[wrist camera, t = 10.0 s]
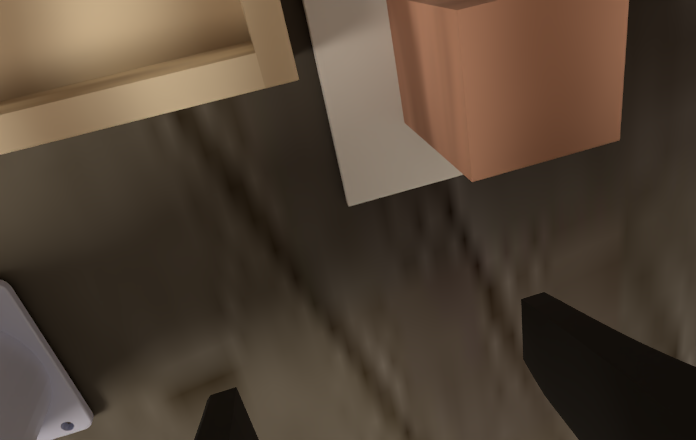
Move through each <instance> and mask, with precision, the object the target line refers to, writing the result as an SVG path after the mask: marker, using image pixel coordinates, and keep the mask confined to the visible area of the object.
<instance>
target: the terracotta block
mask: <svg viewBox="0 0 696 440" xmlns="http://www.w3.org/2000/svg"><path fill="white" fill-rule="evenodd" d="M386 3H387V10H388V16H389V23H390V30H391V36H392V43H393V50H394V56H395V63H396V70H397V76H398V83H399V90H400V96H401V103H402V110H403V117H404V123H405V124H406V125H408V126H409V127H410V128H411V129H412V130H413V131H414V132H416V133H417V134H418V135H419V136H420V137H421V138H422V139H424V140H425V141H426V142H427V143H428V144H429V145H430V146H432V147H433V148H434V149H435V150H436V151H437V152H438V153H439V154H441V155H442V156H443V157H444V158H445V159H446V160H447V161H449V162H450V163H451V164H452V165H453V166H454V167H455V168H457V169H458V170H459V171H460V172H461V173H462V174H463V175H465V176H466V177H467V178H468V179H469V180H470V181H471V182H474V181H478V180H481V179H485V178H488V177H492V176H495V175H499V174H502V173H506V172H509V171H513V170H517V169H520V168H524V167H527V166H531V165H534V164H538V163H541V162H545V161H548V160H552V159H555V158H559V157H562V156H566V155H569V154H573V153H576V152H580V151H583V150H587V149H590V148H594V147H597V146H601V145H604V144H608V143H611V142H615V141H618V140H620V128H621V113H622V98H623V83H624V69H625V54H626V39H627V24H628V9H629V0H386Z"/></svg>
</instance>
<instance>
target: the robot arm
mask: <svg viewBox="0 0 696 440" xmlns="http://www.w3.org/2000/svg"><path fill="white" fill-rule="evenodd" d="M521 305H522V333H523V360H524V361H525V363H526V365H527V366H528V368H529V370H530V372H531V373H532V375H533V377H534V379H535V380H536V382H537V383H538V385H539V387H540V388H541V390H542V392H543V393H544V395H545V396H546V398H547V399H548V400H549V402H550V403H551V404H552V406H553V407H554V408H555V409H556V411H557V412H558V413H559V415H560V416H561V417H562V419H563V420H564V421H565V422H566V424H567V425H568V426H569V428H570V429H571V430H572V431H573V433H574V434H575V435H576V437H577V438H578V439H579V440H696V367H694V366H692V365H690V364H687V363H685V362H682V361H680V360H678V359H675V358H673V357H671V356H669V355H666V354H664V353H662V352H660V351H658V350H655V349H653V348H651V347H649V346H647V345H644V344H642V343H640V342H638V341H636V340H634V339H632V338H630V337H628V336H626V335H624V334H622V333H620V332H618V331H616V330H614V329H612V328H610V327H608V326H606V325H604V324H603V323H601V322H599V321H597V320H595V319H593V318H591V317H589V316H587V315H586V314H584V313H582V312H580V311H578V310H576V309H575V308H573V307H571V306H569V305H567V304H565V303H563V302H562V301H560V300H558V299H556V298H554V297H552V296H550V295H548V294H547V293H545V292H543V293H540V294H537V295H533V296H530V297H527V298H524V299H521ZM93 417H94V416H93V413H92V411H91V410H90V408H89V406H88V405H87V403H86V402H85V400H84V399H83V397H82V396H81V394H80V392H79V391H78V389H77V388H76V386H75V385H74V383H73V382H72V380H71V378H70V377H69V375H68V374H67V372H66V371H65V369H64V368H63V366H62V364H61V363H60V361H59V360H58V358H57V357H56V355H55V354H54V352H53V350H52V349H51V347H50V346H49V344H48V343H47V341H46V340H45V338H44V336H43V335H42V333H41V332H40V330H39V329H38V327H37V326H36V324H35V322H34V321H33V319H32V318H31V316H30V315H29V313H28V312H27V310H26V308H25V307H24V305H23V304H22V302H21V301H20V299H19V298H18V296H17V294H16V293H15V291H14V290H13V288H12V287H11V286H10V285H9V283H7V282H5V281H3V280H0V440H52V439H55V438H59V437H62V436H65V435H68V434H72V433H75V432H78V431H81V430H85V429H87V428H89V427H90V426H91V424H92V421H93ZM66 422H71V423H70V424H69V423H66ZM194 440H259V439H258V437H257V435H256V432H255V430H254V428H253V425H252V423H251V421H250V418H249V416H248V414H247V411H246V409H245V407H244V404H243V402H242V400H241V397H240V395H239V392H238V390H237V388H236V387H235V388H232V389H229V390H226V391H222V392H219V393H216V394H213V395H210V397H209V399H208V400H207V403H206V406H205V410H204V413H203V416H202V419H201V422H200V425H199V428H198V430H197V433H196V436H195V439H194Z"/></svg>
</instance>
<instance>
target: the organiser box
mask: <svg viewBox="0 0 696 440" xmlns="http://www.w3.org/2000/svg"><path fill="white" fill-rule="evenodd" d="M297 80H299V77H298V73H297V69H296V65H295V61H294V56H293V52H292V48H291V44H290V40H289V36H288V31H287V27H286V23H285V19H284V15H283V11H282V6H281V2H280V0H0V155H1V154H5V153H9V152H13V151H17V150H21V149H25V148H29V147H33V146H37V145H41V144H45V143H49V142H53V141H57V140H61V139H65V138H69V137H73V136H77V135H81V134H85V133H89V132H93V131H97V130H101V129H105V128H109V127H113V126H117V125H121V124H125V123H129V122H133V121H137V120H141V119H145V118H149V117H153V116H157V115H161V114H165V113H169V112H173V111H177V110H181V109H185V108H189V107H193V106H197V105H201V104H205V103H209V102H213V101H217V100H221V99H225V98H229V97H233V96H237V95H241V94H245V93H249V92H253V91H257V90H261V89H265V88H269V87H273V86H277V85H281V84H285V83H289V82H293V81H297Z"/></svg>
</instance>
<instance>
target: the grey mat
mask: <svg viewBox="0 0 696 440" xmlns="http://www.w3.org/2000/svg"><path fill="white" fill-rule="evenodd" d="M302 2H303V7H304V11H305V16H306V20H307V25H308V29H309V34H310V38H311V43H312V47H313V52H314V57H315V61H316V66H317V70H318V75H319V79H320V84H321V88H322V93H323V97H324V102H325V106H326V111H327V115H328V120H329V125H330V129H331V134H332V138H333V143H334V147H335V152H336V156H337V161H338V165H339V170H340V174H341V179H342V183H343V188H344V192H345V197H346V202H347V204H348V206H353V205H356V204H360V203H364V202H367V201H371V200H374V199H378V198H382V197H385V196H389V195H392V194H396V193H400V192H403V191H407V190H410V189H414V188H417V187H421V186H425V185H428V184H432V183H435V182H439V181H443V180H446V179H450V178H453V177H457V176H460V175H463V174H462V173H461V172H460V171H459V170H458V169H457V168H455V167H454V166H453V165H452V164H451V163H450V162H449V161H447V160H446V159H445V158H444V157H443V156H442V155H441V154H439V153H438V152H437V151H436V150H435V149H434V148H433V147H432V146H430V145H429V144H428V143H427V142H426V141H425V140H424V139H422V138H421V137H420V136H419V135H418V134H417V133H416V132H414V131H413V130H412V129H411V128H410V127H409V126H408V125H406V124H405V123H404V117H403V110H402V103H401V96H400V90H399V83H398V76H397V70H396V63H395V56H394V50H393V43H392V36H391V30H390V23H389V16H388V10H387V3H386V0H302Z"/></svg>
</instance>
